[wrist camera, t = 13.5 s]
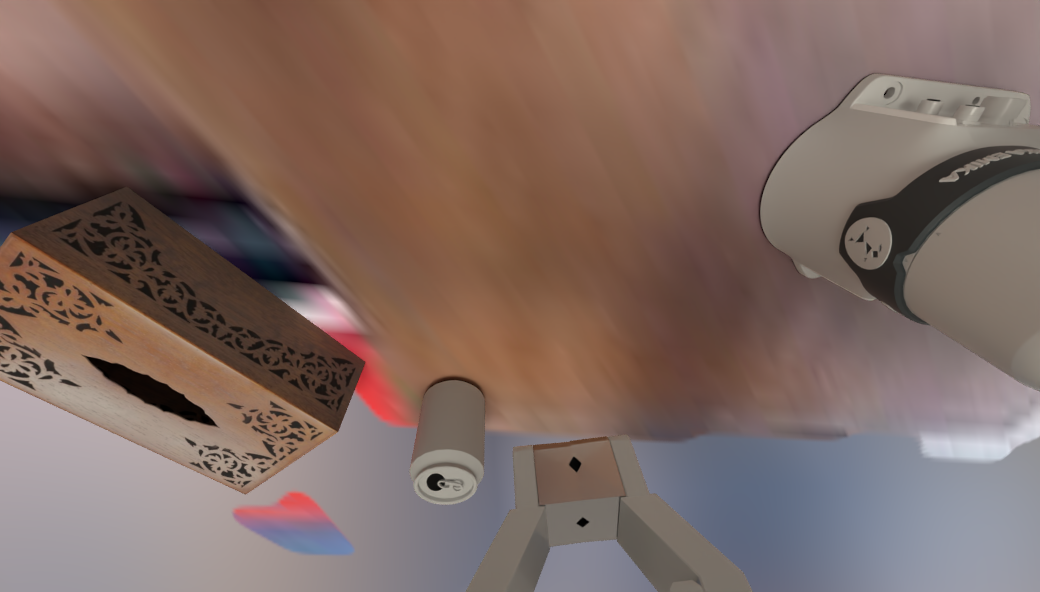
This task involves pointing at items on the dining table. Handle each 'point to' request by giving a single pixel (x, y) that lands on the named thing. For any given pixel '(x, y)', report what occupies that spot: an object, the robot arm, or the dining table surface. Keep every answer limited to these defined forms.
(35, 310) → the tissue box cover
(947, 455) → the dining table surface
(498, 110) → the dining table surface
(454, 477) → the can
